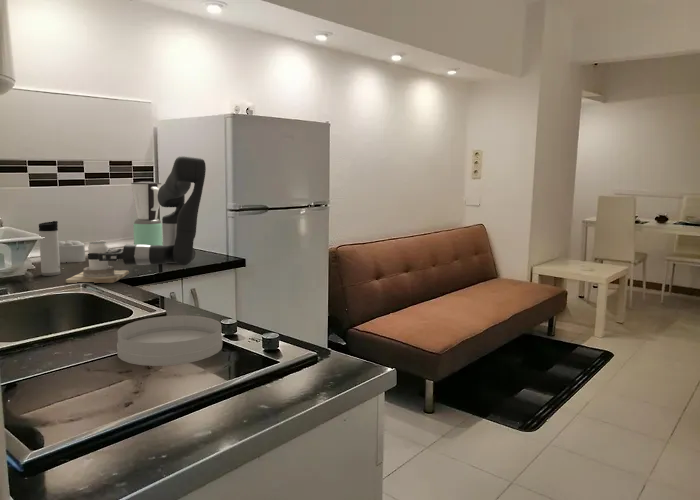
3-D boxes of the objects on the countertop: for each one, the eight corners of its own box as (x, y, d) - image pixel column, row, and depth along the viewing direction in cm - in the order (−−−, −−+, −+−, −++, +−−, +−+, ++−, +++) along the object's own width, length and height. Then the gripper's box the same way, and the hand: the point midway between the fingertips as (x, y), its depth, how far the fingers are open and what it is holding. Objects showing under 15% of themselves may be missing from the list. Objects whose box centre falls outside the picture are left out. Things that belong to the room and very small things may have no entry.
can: (101, 276, 194) (99, 243, 193) (85, 275, 196) (83, 243, 194) (112, 273, 201) (111, 241, 199) (97, 272, 202) (95, 241, 200)
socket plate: (85, 273, 206) (85, 264, 206) (129, 273, 208) (128, 264, 207) (66, 282, 188) (65, 272, 188) (113, 282, 190) (113, 272, 190)
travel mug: (64, 273, 206) (62, 221, 203) (49, 276, 200) (45, 222, 197) (53, 272, 208) (50, 220, 206) (37, 274, 202) (34, 221, 200)
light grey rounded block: (85, 261, 235) (84, 241, 234) (51, 263, 229) (50, 243, 228) (85, 258, 244) (84, 239, 243) (52, 259, 238) (51, 240, 237)
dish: (238, 339, 128) (238, 319, 127) (192, 371, 106) (191, 347, 105) (154, 332, 132) (154, 312, 132) (93, 361, 111) (92, 338, 110)
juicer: (127, 253, 262) (124, 180, 257) (152, 250, 271) (150, 180, 267) (146, 257, 249) (143, 181, 244) (172, 254, 259) (170, 181, 254)
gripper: (143, 242, 205) (99, 242, 203) (132, 247, 191) (84, 246, 189) (144, 261, 206) (99, 261, 204) (133, 267, 192) (85, 268, 190)
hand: (92, 254), depth 197 cm, fingers open, 8 cm apart
